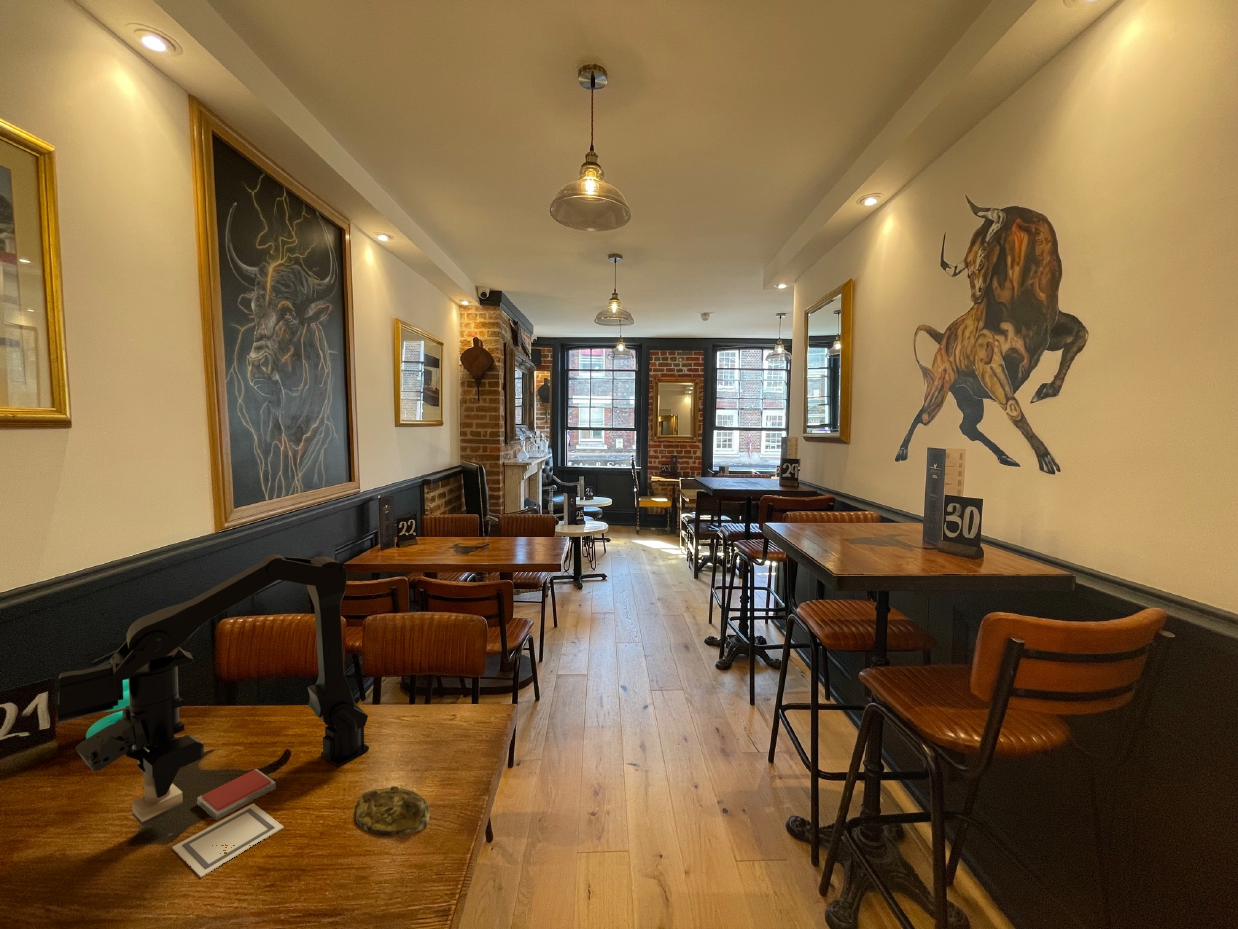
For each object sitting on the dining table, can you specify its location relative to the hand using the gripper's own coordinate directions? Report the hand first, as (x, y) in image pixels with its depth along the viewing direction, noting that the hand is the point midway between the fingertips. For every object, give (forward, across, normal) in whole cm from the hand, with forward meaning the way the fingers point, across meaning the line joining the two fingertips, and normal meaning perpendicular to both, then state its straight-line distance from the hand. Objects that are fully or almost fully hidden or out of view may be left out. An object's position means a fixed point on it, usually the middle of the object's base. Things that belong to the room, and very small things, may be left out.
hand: (157, 792), depth 81 cm
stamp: (+3, 0, 0) cm, 3 cm away
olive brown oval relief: (+7, +28, +22) cm, 36 cm away
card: (+6, +12, +5) cm, 14 cm away
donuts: (+6, -40, +6) cm, 41 cm away
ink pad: (+6, +2, +10) cm, 12 cm away
